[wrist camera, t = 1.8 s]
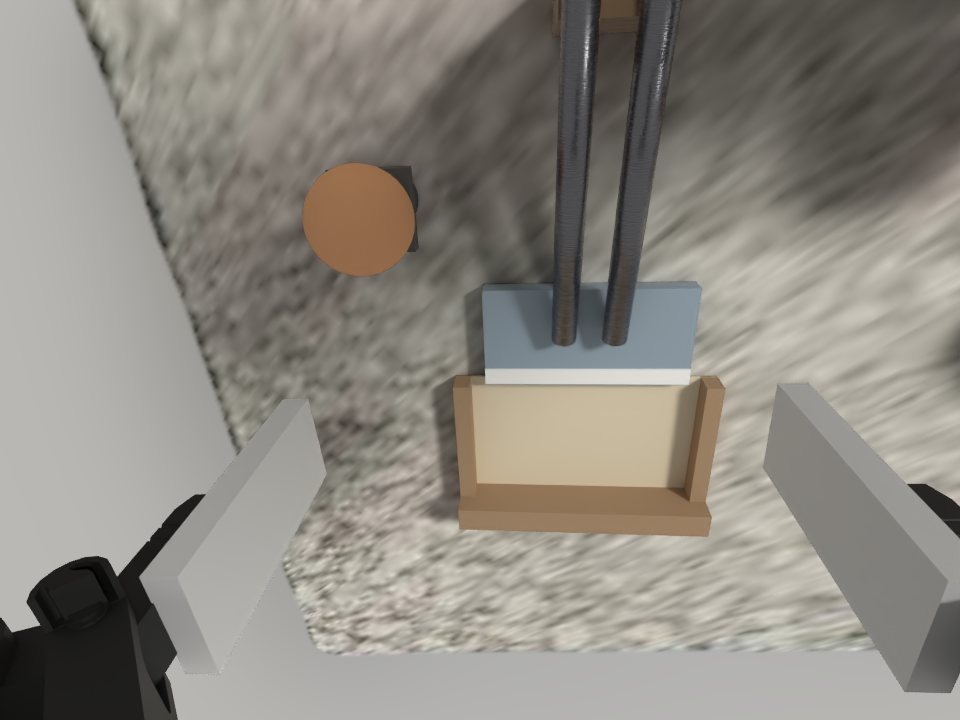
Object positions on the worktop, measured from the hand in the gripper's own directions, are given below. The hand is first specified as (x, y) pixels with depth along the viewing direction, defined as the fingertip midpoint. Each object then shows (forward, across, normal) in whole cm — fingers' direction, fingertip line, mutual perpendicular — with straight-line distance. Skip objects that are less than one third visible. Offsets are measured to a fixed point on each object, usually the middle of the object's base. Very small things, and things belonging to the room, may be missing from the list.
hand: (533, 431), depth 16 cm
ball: (+11, -8, +4) cm, 14 cm away
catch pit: (+17, +3, -12) cm, 21 cm away
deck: (+17, +3, -4) cm, 18 cm away
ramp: (+17, +3, +5) cm, 18 cm away
